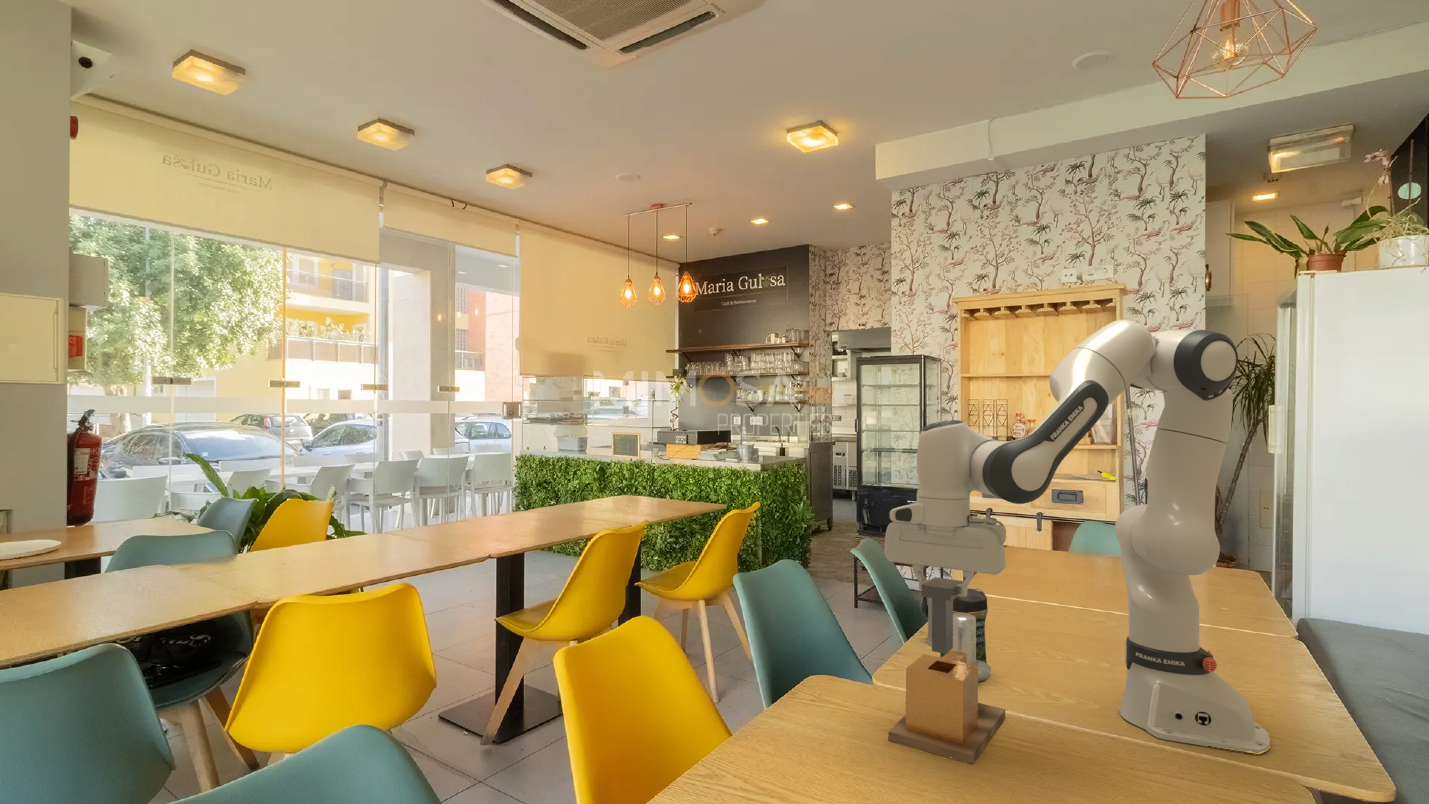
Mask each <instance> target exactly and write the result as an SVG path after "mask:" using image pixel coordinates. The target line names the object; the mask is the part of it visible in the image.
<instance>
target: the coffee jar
mask: <svg viewBox="0 0 1429 804" xmlns="http://www.w3.org/2000/svg"><path fill="white" fill-rule="evenodd" d="M983 592H984V591H983ZM983 592H981V591H980V590H974V589H972V588H967V596H966V597H961V596H958V597H956V598H955V599H953V613H965V614H970V615H973V616H975V617H976V659H977V660H980V661H983V662H985V663H987V664H988V662H987V661H988V660H987V651H986V650H987V649H986V629H985V627H986V618H987V615H988V610H989V608H988V597H987V596H986V593H985V592H984V593H983ZM946 654H947V653H946ZM946 654H944V653H940V654H939V655H940V656H939V657H943V656H944V655H946Z"/></svg>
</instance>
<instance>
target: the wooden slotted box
mask: <svg viewBox="0 0 1429 804" xmlns="http://www.w3.org/2000/svg"><path fill="white" fill-rule="evenodd" d="M991 675H992V669H991V666H990V665H989V664H988V662H987V663H985V662H983V661H980V660H977V659H976V617H975V616H973V615H970V614H965V613H953V648H952V649H951V650H950V651H949V652H948V653H947V654H946V655H944V656H943V657H940V656H934V655H930V654H926V653H925V654H924V653H923V654H922V655H920V657H918V658H917V659H916V660H914V661H913V662H912V663H910V665H908V666H907V667H906V668H905V715H906V730H908V731H912V732H915V733H919V734H923V735H926V736H930V737H934V738H937V739H941V740H945V741H948V742H952V743H956V744H959V745H964V743H965V742H966V741H967V739H968V738H969V737H970V735H971V734H972V733H973V731H974V730H975V729H976V728H977V726H978V703H979V682H980V681H982V682H983V681H985V680H988V679H990V677H991Z"/></svg>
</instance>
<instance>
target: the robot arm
mask: <svg viewBox="0 0 1429 804" xmlns="http://www.w3.org/2000/svg"><path fill="white" fill-rule="evenodd" d="M1238 365H1239V354H1238V351H1237V348H1236V346H1235V344H1234V342H1233V341H1232V339H1231V338H1230V337H1229V336H1227V335H1226V334H1222V333H1220V332H1217V331H1214V330H1207V329H1198V330H1191V329H1168V330H1164V331H1156V332H1150V331H1149V330H1148V329H1147V328H1146V327H1145V326H1144V325H1142V324H1140V323H1139V322H1136V321H1133V320H1130V319H1117V320H1114V321H1112V322H1109V323H1108V324H1106V325H1104V326H1102V327H1101V328H1099V329H1098V330H1097V331H1095V332H1093V333H1091V334H1090V335H1089V336H1088V337H1086V338H1085V339H1084V340H1083V341H1081V342H1080V343H1079V344H1077V345H1076V346H1075V347H1074V348H1073V349H1072V350H1070V351H1069V353H1067V354H1066V355H1065V356H1064V357H1063V358H1062V359H1061V360H1060V361H1059V363H1058V364H1057V365H1056V366H1055V367H1054V369H1053V371H1052V372H1051V373H1050V375H1049V387H1050V388H1049V389H1050V392H1051V395H1052V396H1053V398H1054V400H1056V402H1057V404H1056V405H1055V407H1054V408H1053V409H1052V410H1051V411H1050V412H1049V414H1047V415H1046V417H1044V419H1042V420H1041V422H1039V423H1038V425H1037V426H1036V427H1035V428H1034V429H1033V430H1032V431H1031V432H1030V433H1029V434H1026V436H1024V437H1022V438H1019V439H1015V440H1014V439H1013V440H1010V441H1006V440H997V439H994V438H992V437H990V436H987V435H984V434H982V433H980V432H978V431H976V430H975V429H973V428H972V427H971V426H969V425H967V423H966V422H965V421H963V420H958V419H957V420H956V419H954V420H953V419H952V420H944V421H943V420H942V421H937V422H932V423H930V424H927V425H925V427H923V428H922V429H921V431H920V433H919V437H918V442H917V443H918V444H917V452H916V453H917V455H916V472H917V476H918V488H917V492H916V501H915V502H911V503H906V505H901V506H898V507H895V508H892V509H891V510H890V511H889V519H890V521H891V523H889V524H888V525H887V527H886V530H885V537H884V546H883V548H884V551H883V553H884V556H885V558H886V559H887V561H889V562H895V563H900V564H901V563H903V564H909V565H910V564H911V565H912V571H913V574H914V575H915V577H916V579H917V581H918V590H919V591H921V592H922V584H924V583H926V582H927V581H929V580H930V579H926V576H925V575H924V573H923V571H922V570H924V569H925V566H926V567H932V568H941V569H948V570H949V569H950V570H957V571H962V577H963V578H964V580H963V583H962V584H958V585H957V586H956V591H957V592H956V596H961V597H966V596H967V589H968V586H969V584H970V583H971V581H972V580H973V579H974V576H975V573H979V574H987V575H994V576H995V575H998V574H1000V573H1002V572H1003V571H1004V570H1005V568H1006V555H1005V554H1006V553H1005V546H1004V544H1005V542H1006V540H1007V529H1006V526H1005V524H1004V523H1003V522H1002V521H1000V520H997V518H995V517H990V516H989V517H982V516H977V515H971V514H970V513H971V510H970V509H971V508H970V507H971V503H970V502H971V501H970V500H971V498H970V497H971V496H970V495H971V492H974V491H975V492H978V493H982V494H985V495H988V496H993V497H996V498H999V499H1001V500H1003V501H1006V502H1009V503H1011V504H1016V505H1020V504H1021V505H1023V504H1030V503H1032V502H1034V501H1035V500H1037V499H1039V498H1040V497H1041V496H1042V495H1043V494H1044V493H1045V492H1046V491H1047V490H1048V488H1049V486H1050V484H1051V482H1052V481H1053V478H1054V476H1055V474H1056V471H1057V470H1058V468H1059V466H1060V465H1061V463H1062V462H1063V460H1064V459H1065V458H1067V456H1068V455H1069V454H1070V453H1071V452H1072V450H1073V449H1074V448H1075V447H1076V446H1077V445H1078V444H1079V442H1080V441H1081V440H1083V438H1084V437H1085V436H1086V435H1088V432H1089V431H1090V430H1092V428H1094V426H1095V425H1096V424H1097V422H1098V421H1099V420H1100V419H1101V417H1102V416H1103V415H1104V413H1105V412H1106V410H1107V408H1108V406H1110V405H1111V404H1112V403H1113V402H1114V401H1115V400H1116V399H1117V398H1118V397H1119V396H1121V394H1122V393H1123V392H1125V391H1126V389H1128V388H1129V387H1132V388H1135V389H1140V390H1141V389H1142V390H1143V389H1147V390H1152V391H1159V392H1162V396H1163V401H1164V405H1163V406H1164V407H1163V409H1162V412H1161V415H1160V416H1159V420H1158V423H1157V427H1156V429H1155V433H1154V437H1153V441H1152V444H1151V448H1150V451H1149V455H1148V459H1147V463H1146V467H1145V474H1146V477H1147V501H1146V502H1147V503H1146V504H1145V503H1144V504H1138V505H1135V506H1131V507H1129V508H1126V509H1125V510H1124V511H1122V512H1121V513H1120V514H1119V516H1118V517H1117V519H1116V521H1115V527H1114V530H1115V535H1116V538H1117V541H1118V544H1119V548H1120V554H1121V555H1120V556H1121V561H1122V568H1123V573H1124V579H1125V583H1126V589H1127V598H1128V599H1127V600H1128V636H1127V637H1126V639H1125V641H1126V642H1125V643H1124V645H1125V646H1124V647H1125V649H1124V650H1125V653H1124V656H1125V660H1124V661H1125V666H1126V668H1127V671H1126V681H1125V686H1124V690H1123V691H1124V692H1123V695H1122V699H1121V701H1120V702H1121V703H1120V705H1119V708H1118V713H1119V715H1120V716H1121V717H1122V718H1123V719H1125V721H1127V722H1129V723H1130V724H1133V725H1134V726H1137V727H1139V728H1141V729H1142V730H1144V731H1146V732H1147V733H1149V734H1150V735H1152V736H1153V737H1155V738H1157V739H1159V740H1160V739H1161V740H1166V741H1172V742H1179V743H1184V744H1191V745H1197V746H1201V747H1208V746H1212V747H1211V748H1214V747H1218V748H1217V749H1219V748H1228V749H1234V750H1238V751H1239V750H1241V751H1252V752H1255V753H1259V752H1262V751H1266V750H1267V749H1268V748H1269V746H1270V745H1271V739H1270V735H1269V733H1268V732H1267V730H1266V728H1265V727H1263V726H1262V725H1260V724H1259V723H1257V722H1255V721H1254V720H1255V719H1254V715H1253V712H1252V709H1251V706H1250V704H1249V702H1248V700H1247V698H1246V697H1245V696H1244V695H1243V694H1242V693H1241V692H1240V691H1238V690H1237V689H1236V688H1235V687H1233V686H1232V685H1230V684H1229V683H1228V682H1227V681H1226V680H1225V679H1223V678H1222V677H1221V676H1219V675H1218V674H1217V673H1216V672H1215V670H1216V671H1217V665H1218V664H1217V662H1216V660H1215V659H1214V655H1213V654H1212V652H1211V651H1210V650H1209V649H1208V650H1206V649H1204V648H1203V647H1201V646H1200V643H1201V642H1200V605H1199V601H1198V598H1197V597H1196V595H1195V591H1194V589H1193V585H1192V583H1191V577H1190V576H1197V575H1201V574H1204V573H1206V572H1207V571H1209V570H1210V569H1213V567H1214V566H1215V565H1216V564H1217V561H1218V560H1219V558H1220V557H1219V556H1220V553H1221V552H1220V551H1221V545H1220V541H1219V538H1218V537H1217V533H1216V528H1215V525H1216V524H1215V521H1216V519H1215V518H1216V514H1215V513H1216V511H1215V510H1216V509H1215V508H1216V491H1217V490H1216V489H1217V484H1218V480H1219V479H1218V478H1219V475H1220V472H1221V471H1220V470H1221V467H1222V463H1223V458H1224V456H1225V454H1226V453H1225V452H1226V449H1227V446H1228V441H1229V436H1230V432H1231V428H1232V420H1233V410H1234V409H1233V408H1234V407H1233V405H1234V397H1233V395H1234V394H1233V392H1232V391H1231V389H1230V386H1231V385H1232V383H1233V380H1234V378H1235V377H1236V375H1237V374H1236V373H1237V369H1238ZM1270 747H1271V746H1270Z"/></svg>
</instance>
